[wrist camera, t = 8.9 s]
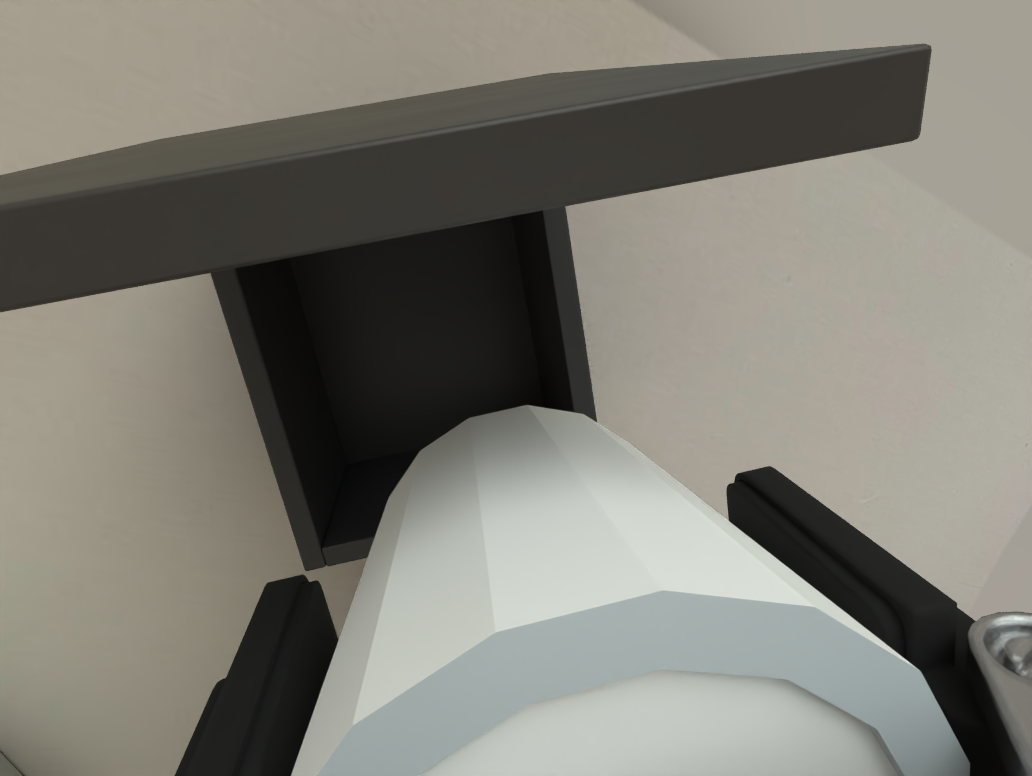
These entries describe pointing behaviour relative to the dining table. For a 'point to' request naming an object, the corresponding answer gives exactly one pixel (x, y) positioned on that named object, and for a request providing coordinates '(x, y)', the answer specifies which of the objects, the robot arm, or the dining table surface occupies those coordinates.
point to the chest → (399, 358)
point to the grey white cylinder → (598, 631)
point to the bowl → (7, 767)
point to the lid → (437, 164)
